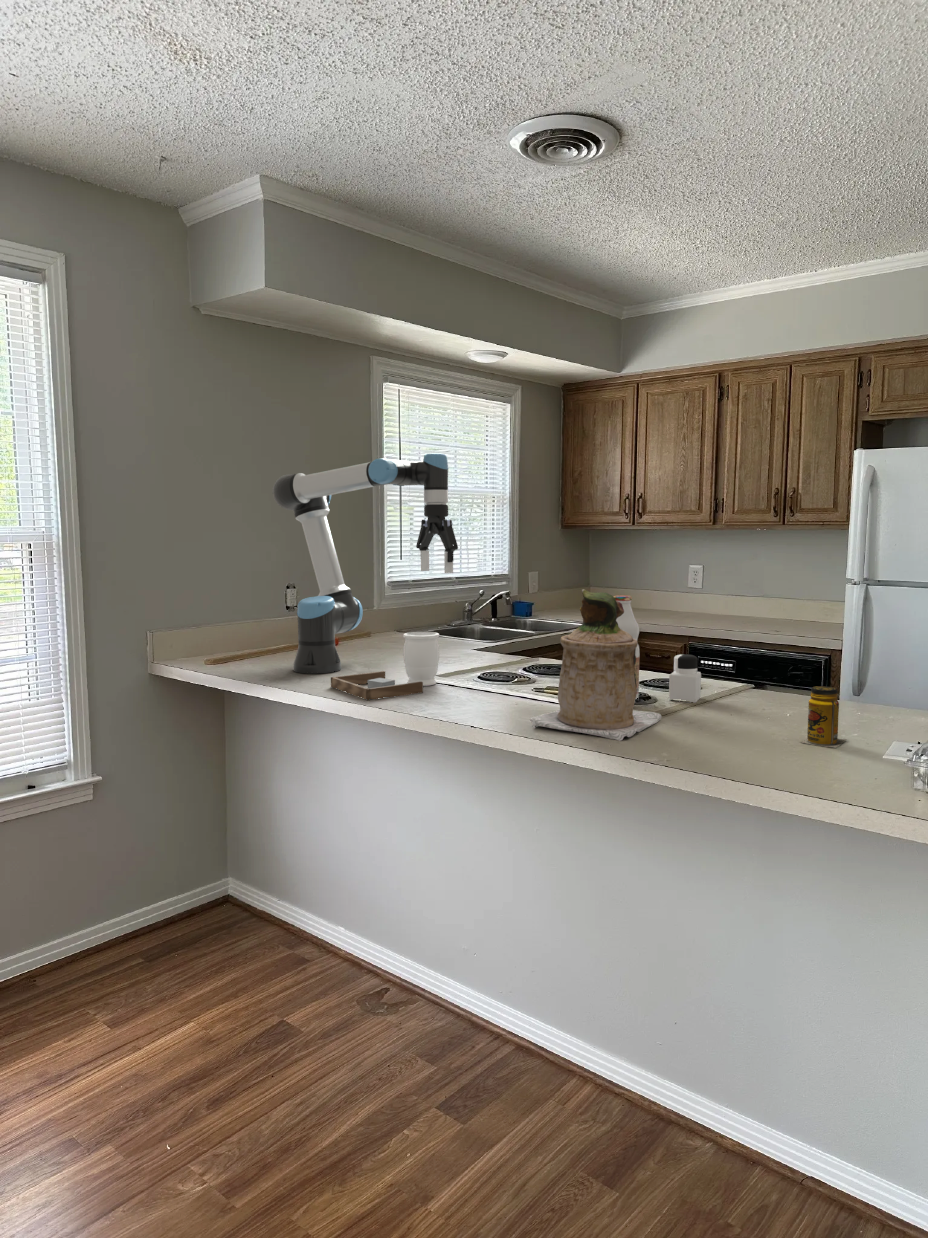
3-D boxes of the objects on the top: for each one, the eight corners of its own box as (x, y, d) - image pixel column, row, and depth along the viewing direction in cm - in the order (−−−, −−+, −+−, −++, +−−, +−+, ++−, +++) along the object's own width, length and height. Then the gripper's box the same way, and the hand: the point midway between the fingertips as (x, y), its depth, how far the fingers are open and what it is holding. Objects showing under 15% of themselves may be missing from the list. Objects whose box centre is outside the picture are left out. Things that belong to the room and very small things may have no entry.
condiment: (800, 743, 184) (802, 688, 183) (813, 735, 190) (815, 682, 189) (835, 749, 179) (838, 692, 178) (847, 740, 186) (850, 686, 184)
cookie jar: (626, 742, 185) (629, 595, 181) (526, 728, 198) (526, 591, 194) (664, 720, 206) (667, 587, 202) (571, 708, 219) (572, 584, 215)
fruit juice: (606, 704, 223) (608, 597, 219) (599, 697, 232) (601, 594, 229) (642, 704, 223) (644, 597, 220) (633, 696, 232) (635, 594, 229)
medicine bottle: (700, 698, 230) (701, 654, 229) (696, 703, 224) (697, 658, 223) (673, 695, 233) (675, 652, 232) (668, 700, 227) (669, 656, 226)
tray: (331, 687, 247) (330, 677, 246) (383, 680, 257) (383, 670, 256) (367, 700, 229) (367, 689, 229) (422, 692, 239) (422, 682, 239)
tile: (367, 690, 244) (367, 680, 243) (379, 688, 247) (379, 677, 247) (382, 693, 240) (382, 682, 240) (395, 690, 244) (394, 680, 243)
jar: (441, 680, 256) (441, 631, 254) (437, 687, 246) (436, 636, 244) (406, 680, 257) (406, 631, 256) (400, 687, 247) (400, 635, 245)
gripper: (469, 503, 258) (469, 573, 261) (424, 504, 279) (425, 569, 281) (448, 503, 254) (449, 574, 257) (405, 504, 274) (405, 570, 277)
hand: (436, 572), depth 269 cm, fingers open, 13 cm apart
